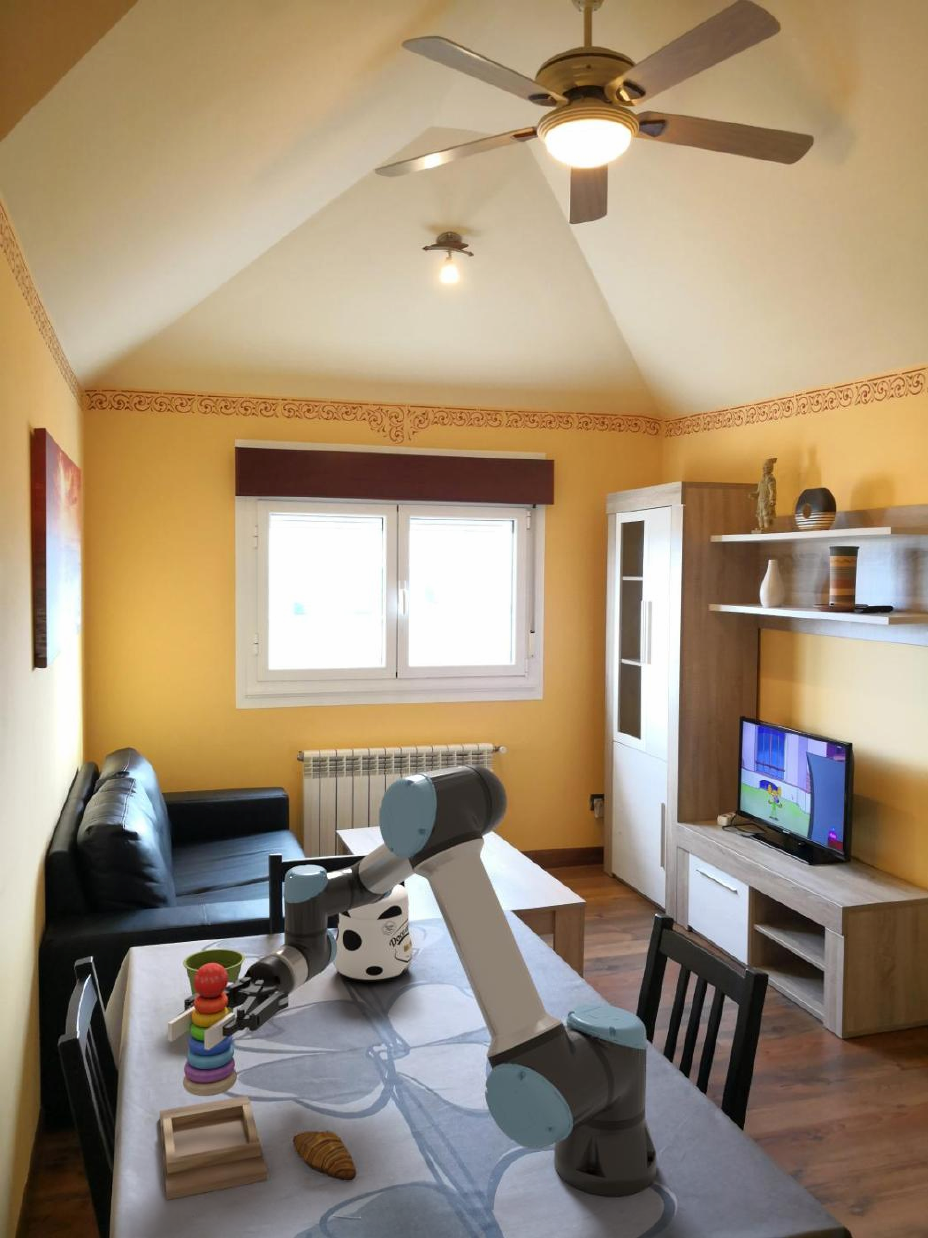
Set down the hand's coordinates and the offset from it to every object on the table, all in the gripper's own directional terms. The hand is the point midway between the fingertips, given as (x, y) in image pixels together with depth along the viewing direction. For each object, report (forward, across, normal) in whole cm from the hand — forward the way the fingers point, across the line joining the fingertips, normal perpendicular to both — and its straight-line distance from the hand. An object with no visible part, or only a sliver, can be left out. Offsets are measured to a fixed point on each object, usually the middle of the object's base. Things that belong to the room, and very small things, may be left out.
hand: (188, 1036), depth 146 cm
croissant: (-8, -18, -20) cm, 28 cm away
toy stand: (-5, 0, -20) cm, 20 cm away
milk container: (-73, +8, -20) cm, 76 cm away
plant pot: (-43, +27, -20) cm, 54 cm away
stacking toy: (-5, 0, -10) cm, 11 cm away
